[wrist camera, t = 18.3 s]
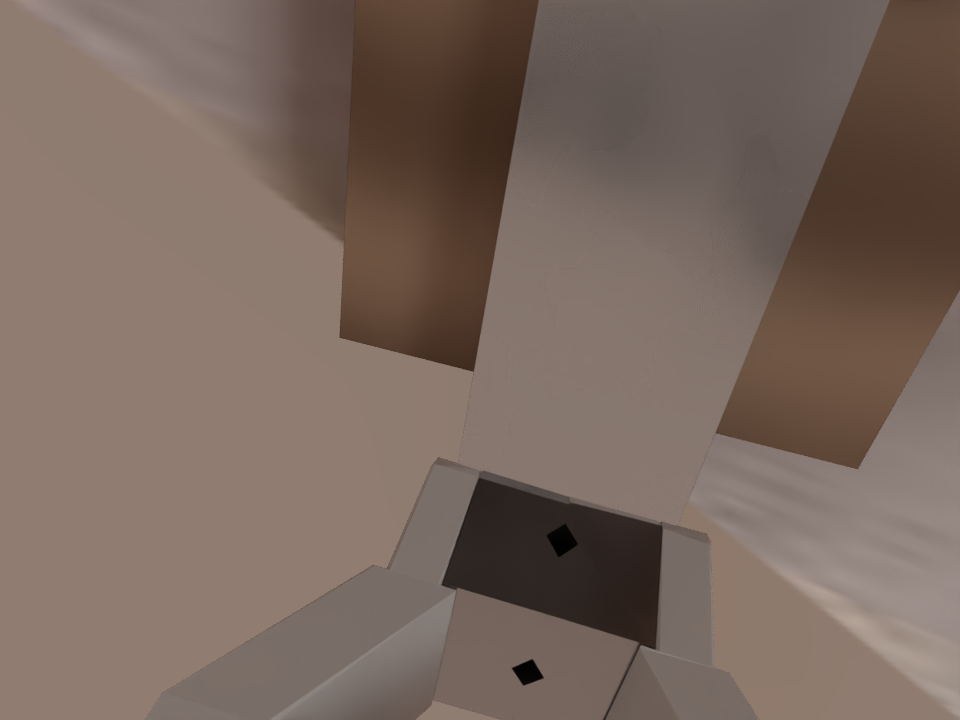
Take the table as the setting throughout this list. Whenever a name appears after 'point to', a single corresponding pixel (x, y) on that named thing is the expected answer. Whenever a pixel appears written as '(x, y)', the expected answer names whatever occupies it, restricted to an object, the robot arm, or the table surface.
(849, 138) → the walnut holder
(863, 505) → the table surface
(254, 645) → the robot arm
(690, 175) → the latch bar
